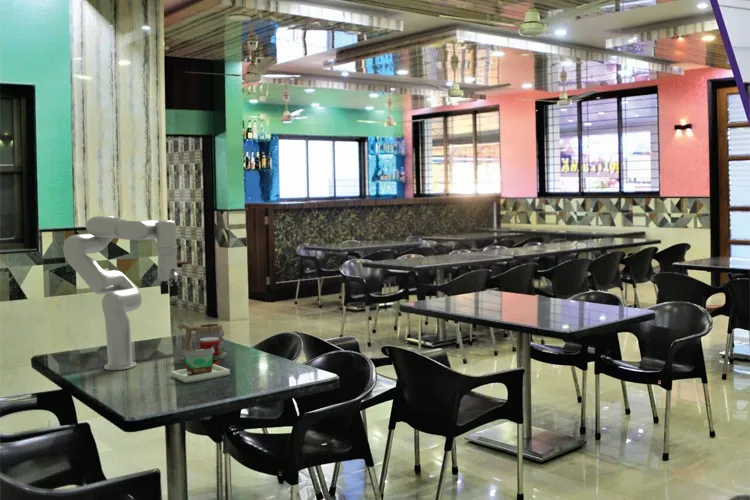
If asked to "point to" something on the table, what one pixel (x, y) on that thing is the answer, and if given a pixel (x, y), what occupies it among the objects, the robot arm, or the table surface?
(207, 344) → the canned food
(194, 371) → the food container
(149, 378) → the table surface
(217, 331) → the tankard
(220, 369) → the tray
